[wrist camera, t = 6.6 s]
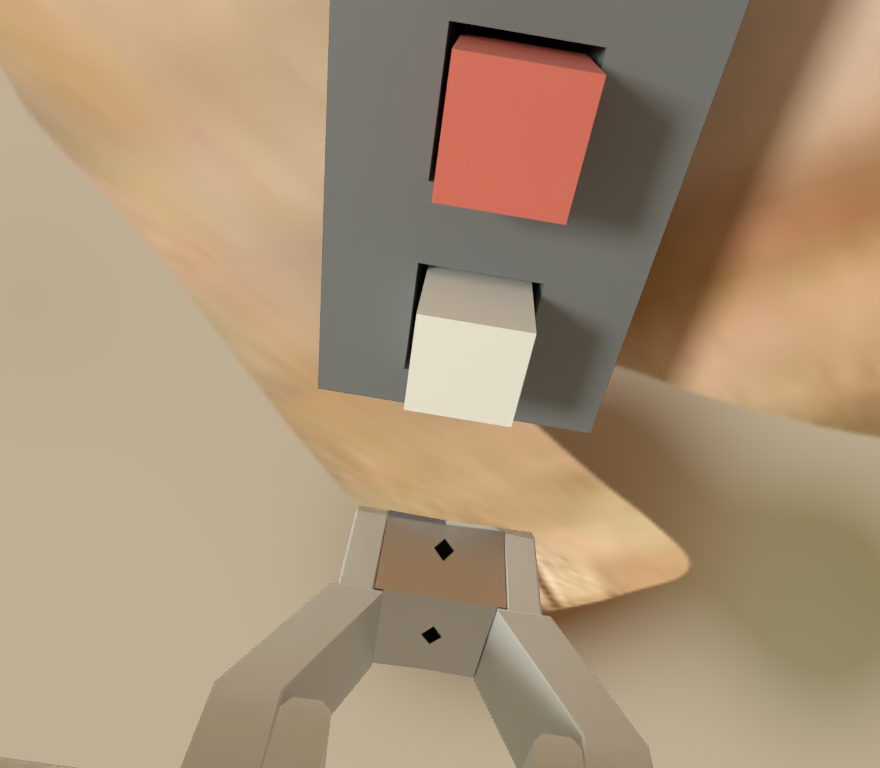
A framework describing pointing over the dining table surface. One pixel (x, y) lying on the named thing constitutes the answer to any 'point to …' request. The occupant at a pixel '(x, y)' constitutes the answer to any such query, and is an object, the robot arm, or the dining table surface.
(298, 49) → the dining table surface
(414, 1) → the button console
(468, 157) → the red button
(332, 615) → the robot arm
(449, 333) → the white button
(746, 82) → the dining table surface
